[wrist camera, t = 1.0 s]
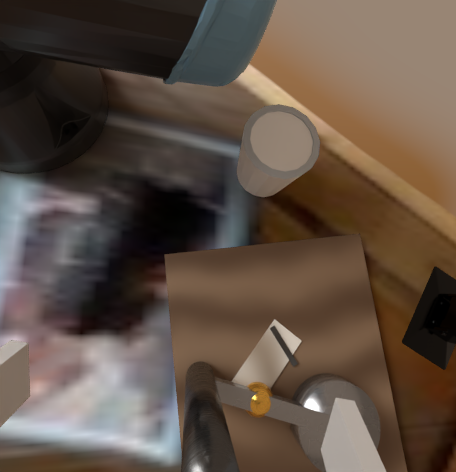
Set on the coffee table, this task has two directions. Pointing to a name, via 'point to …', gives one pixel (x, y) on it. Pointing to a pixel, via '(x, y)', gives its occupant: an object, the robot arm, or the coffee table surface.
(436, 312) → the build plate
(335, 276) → the crank stand
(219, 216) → the coffee table surface
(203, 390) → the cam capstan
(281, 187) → the shot glass
